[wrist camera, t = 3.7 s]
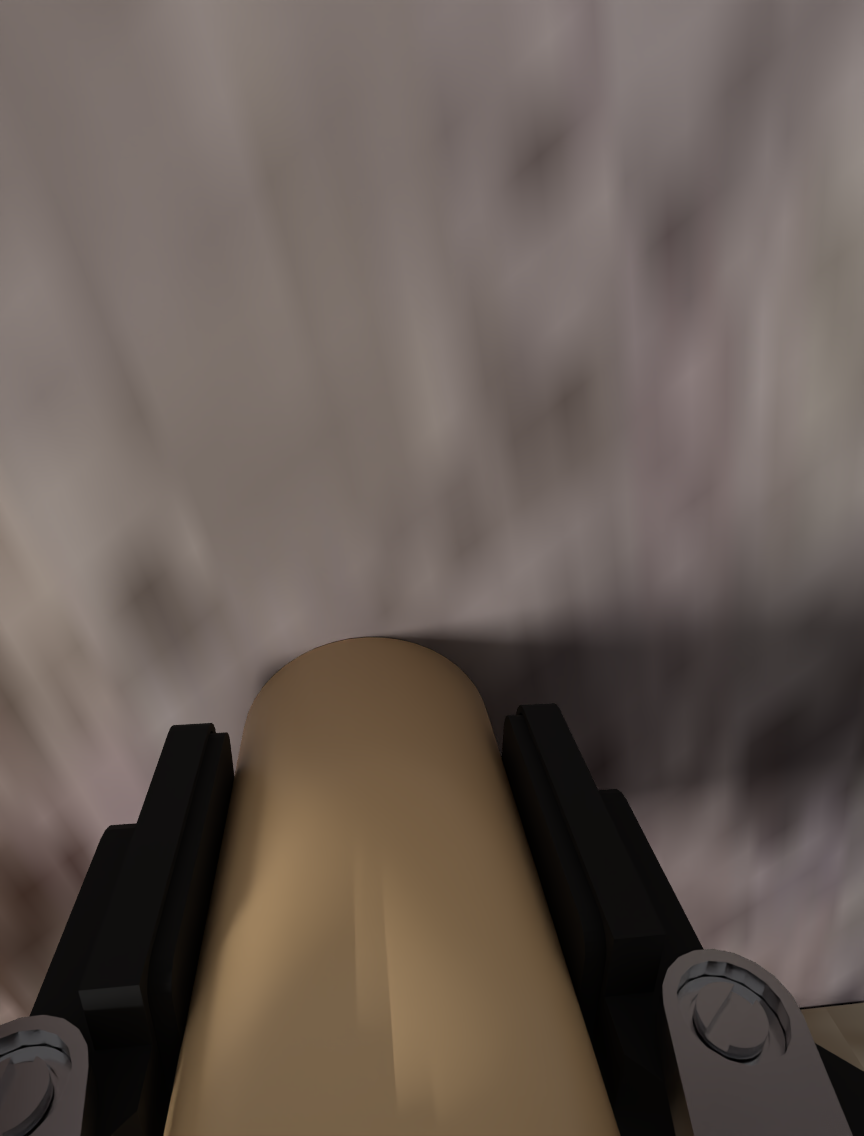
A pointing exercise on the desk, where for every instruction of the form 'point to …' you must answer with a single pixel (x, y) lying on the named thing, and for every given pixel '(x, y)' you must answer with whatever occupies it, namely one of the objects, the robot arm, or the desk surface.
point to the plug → (379, 924)
